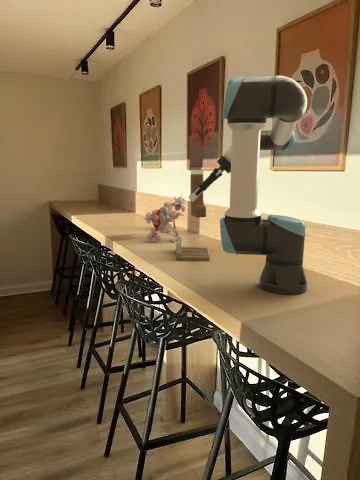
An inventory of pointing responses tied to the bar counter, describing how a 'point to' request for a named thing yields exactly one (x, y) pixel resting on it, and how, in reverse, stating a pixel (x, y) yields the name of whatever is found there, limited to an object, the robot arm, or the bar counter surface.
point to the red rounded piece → (157, 220)
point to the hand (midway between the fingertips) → (190, 199)
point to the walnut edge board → (190, 253)
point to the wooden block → (198, 205)
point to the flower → (166, 219)
